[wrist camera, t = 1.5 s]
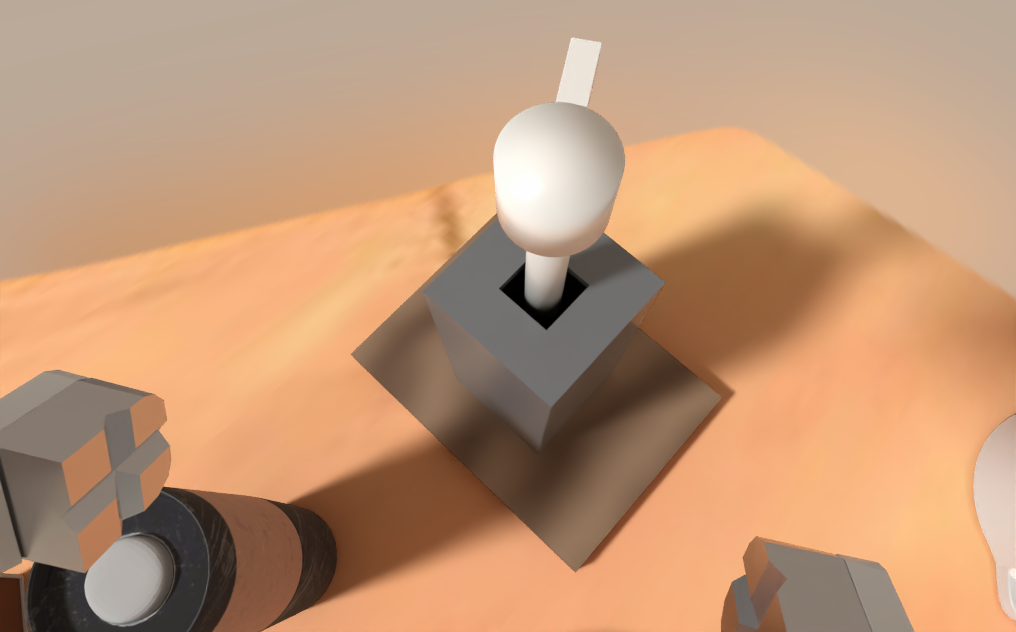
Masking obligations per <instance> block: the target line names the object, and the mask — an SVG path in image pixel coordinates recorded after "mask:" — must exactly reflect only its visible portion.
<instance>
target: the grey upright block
mask: <svg viewBox="0 0 1016 632" xmlns="http://www.w3.org/2000/svg"><path fill="white" fill-rule="evenodd" d="M525 267H526V250H524V249H522V248H520V247H519V246H518V245H516V244H515V243H514V242H513V241H512V240H511V239H510V238H509V237H508V236H507V235H506V233H505V232H504V230H503V228H502V227H501V224H500V222H499V219H497V220H496V221H495V222H494V223H493V224H492V225H491V226H490V227H489V228H488V229H487V230H486V231H485V232H484V233H482V234H481V235H480V236H479V237H478V238H477V239H476V240H475V241H474V242H473V243H472V244H471V245H470V246H469V247H468V248H467V249H466V250H465V251H464V252H463V253H462V254H461V255H460V256H459V257H458V258H457V259H456V260H455V261H454V262H453V263H452V264H450V265H449V266H448V267H447V268H446V269H445V270H444V271H443V272H442V273H441V274H440V275H439V276H438V277H437V278H436V279H435V280H434V281H433V282H432V283H431V284H430V285H429V286H428V287H427V288H426V289H425V290H424V291H423V294H424V296H425V299H426V302H427V304H428V307H429V309H430V312H431V314H432V317H433V320H434V322H435V325H436V327H437V330H438V333H439V335H440V338H441V340H442V343H443V345H444V348H445V351H446V353H447V356H448V358H449V361H450V364H451V366H452V369H453V371H454V374H455V376H456V379H457V380H458V381H460V382H461V383H462V384H463V385H464V386H465V387H466V388H467V389H468V390H469V391H470V392H471V393H472V394H474V395H475V396H476V397H477V398H478V399H479V400H480V401H481V402H482V403H483V404H484V405H485V406H486V407H487V408H489V409H490V410H491V411H492V412H493V413H494V414H495V415H496V416H497V417H498V418H499V419H500V420H501V421H502V422H504V423H505V424H506V425H507V426H508V427H509V428H510V429H511V430H512V431H513V432H514V433H515V434H516V435H518V436H519V437H520V438H521V439H522V440H523V441H524V442H525V443H526V444H527V445H528V446H529V447H530V448H531V449H533V450H534V451H535V452H536V453H537V454H539V452H540V451H541V450H542V449H543V448H544V447H545V446H546V445H547V444H548V442H549V441H550V440H551V439H552V438H553V437H554V436H555V435H556V434H557V432H558V431H559V430H560V429H561V428H562V427H563V426H564V425H565V424H566V422H567V421H568V420H569V419H570V418H571V417H572V416H573V415H574V414H575V412H576V411H577V410H578V409H579V408H580V407H581V406H582V405H583V404H584V402H585V401H586V400H587V399H588V398H589V397H590V396H591V395H592V394H593V393H594V391H595V390H596V389H597V388H598V387H599V386H600V385H601V384H602V383H603V381H604V380H605V379H606V378H607V377H608V376H609V375H610V374H611V373H612V371H613V369H614V368H615V366H616V364H617V363H618V361H619V359H620V358H621V356H622V354H623V353H624V351H625V349H626V348H627V346H628V344H629V343H630V341H631V339H632V338H633V336H634V334H635V333H636V331H637V329H638V328H639V326H640V324H641V323H642V321H643V319H644V317H645V316H646V314H647V312H648V311H649V309H650V307H651V306H652V304H653V302H654V301H655V299H656V297H657V296H658V294H659V292H660V291H661V289H662V287H663V286H664V284H665V282H664V281H663V280H662V279H661V278H659V277H658V276H657V275H656V274H655V273H653V272H652V271H651V270H650V269H648V268H647V267H646V266H645V265H643V264H642V263H641V262H640V261H638V260H637V259H636V258H635V257H633V256H632V255H631V254H630V253H628V252H627V251H626V250H625V249H623V248H622V247H621V246H620V245H618V244H617V243H616V242H615V241H613V240H612V239H611V238H610V237H609V236H607V235H606V234H605V233H604V232H603V234H602V235H601V236H600V238H599V239H598V240H597V241H596V242H595V243H594V244H593V245H591V246H590V247H588V248H587V249H585V250H583V251H581V252H579V253H576V254H574V255H570V258H569V263H568V268H567V273H566V279H565V284H564V289H563V294H562V299H561V304H560V309H559V312H558V314H557V315H556V316H555V317H554V318H553V319H551V320H549V321H546V322H544V323H545V324H546V325H547V326H548V327H549V328H548V330H545V329H544V328H543V327H542V326H541V325H540V324H539V323H537V322H536V321H535V320H534V319H533V318H532V317H531V316H529V315H528V314H527V313H526V311H525V308H524V294H525Z"/></svg>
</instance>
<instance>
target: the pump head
mask: <svg viewBox="0 0 1016 632" xmlns="http://www.w3.org/2000/svg"><path fill="white" fill-rule="evenodd" d="M600 49H601V43H600V42H595V41H589V40H584V39H578V38H571V41H570V45H569V49H568V53H567V58H566V62H565V66H564V70H563V74H562V78H561V82H560V86H559V90H558V94H557V98H556V102H551V103H544V104H539V105H536V106H533V107H530V108H528V109H526V110H524V111H522V112H521V113H519V114H518V115H516V116H515V117H514V118H512V119H511V120H510V121H509V122H508V123H507V124H506V126H505V127H504V128H503V130H502V131H501V133H500V135H499V137H498V139H497V141H496V144H495V149H494V159H493V160H494V177H495V194H496V209H497V216H498V219H499V222H500V224H501V227H502V228H503V230H504V232H505V233H506V235H507V236H508V237H509V238H510V239H511V240H512V241H513V242H514V243H515V244H516V245H518V246H519V247H520V248H522V249H524V250H526V267H525V294H524V308H525V311H526V313H527V314H528V315H529V316H531V317H532V318H533V319H534V320H535V321H539V322H546V321H549V320H551V319H553V318H554V317H555V316H556V315H557V314H558V312H559V309H560V304H561V299H562V294H563V289H564V284H565V279H566V273H567V268H568V263H569V258H570V255H574V254H576V253H579V252H581V251H583V250H585V249H587V248H588V247H590V246H591V245H593V244H594V243H595V242H596V241H597V240H598V239H599V238H600V236H601V235H602V234H603V232H604V231H605V229H606V227H607V225H608V222H609V219H610V216H611V212H612V209H613V206H614V202H615V199H616V196H617V192H618V189H619V186H620V182H621V179H622V175H623V172H624V166H625V154H624V149H623V145H622V142H621V140H620V138H619V136H618V134H617V132H616V131H615V129H614V128H613V127H612V126H611V125H610V123H609V122H608V121H606V120H605V119H604V118H603V117H602V116H601V115H599V114H598V113H596V112H594V111H592V110H590V109H588V105H589V101H590V97H591V92H592V88H593V83H594V79H595V74H596V70H597V66H598V60H599V55H600Z"/></svg>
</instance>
